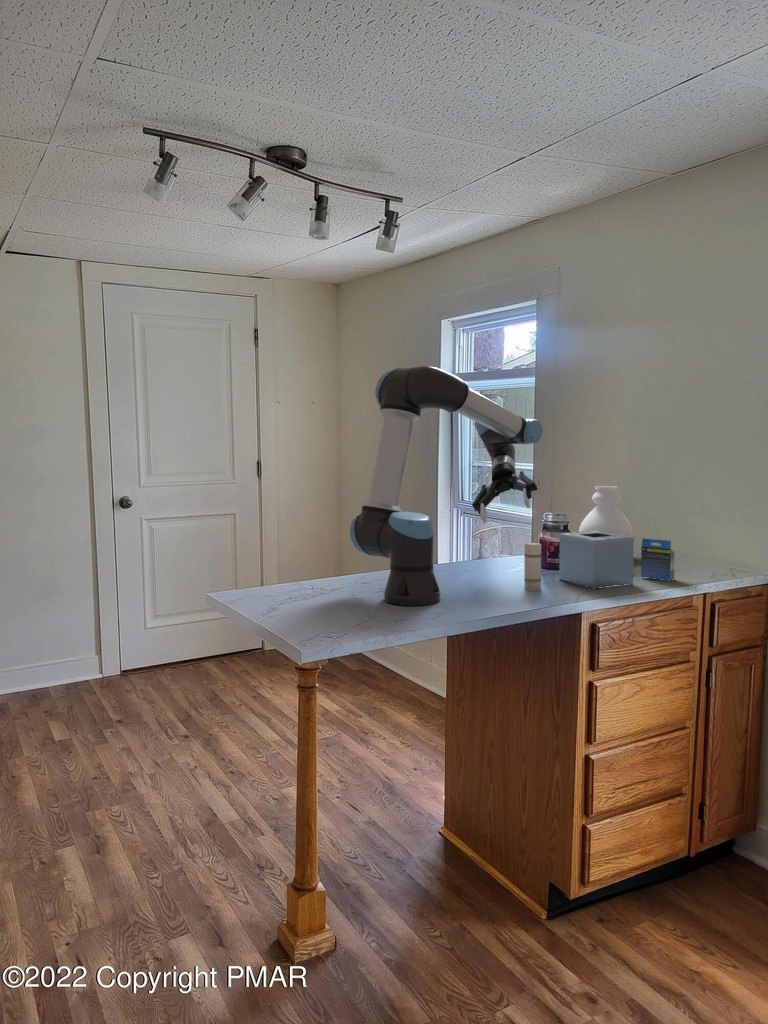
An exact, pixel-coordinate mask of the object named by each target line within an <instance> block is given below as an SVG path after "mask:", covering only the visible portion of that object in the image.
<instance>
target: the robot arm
mask: <svg viewBox="0 0 768 1024" xmlns="http://www.w3.org/2000/svg"><path fill="white" fill-rule="evenodd" d="M374 395H375V399H376V400H377V401H376V402H377V404H378V405H379V407H380V408H379V413H380V415H381V416H382V417H383V421H382V427H381V431H380V437H379V443H378V449H377V454H376V457H375V465H374V470H373V475H372V480H371V481H372V482H371V487H370V492H369V498H368V501H366V502H365V503H363V504H362V506H361V512H360V513H358V514H357V515H356V516H355V517H354V518H352V521H351V524H350V527H349V535H350V536H349V537H350V541H351V543H352V544H353V546H354V548H355V549H356V550H357V551H359V552H360V553H363V554H366V555H367V556H372V557H381V558H386V559H389V566H390V567H389V570H390V571H389V575H388V579H387V582H386V584H385V588H384V592H383V597H384V598H383V599H385V600H386V601H387V602H390V603H393V604H392V605H395V604H399V605H398V606H404V605H409V606H408V607H411V606H416V607H417V606H426V605H433V604H436V603H439V602H440V600H441V591H440V587H439V584H438V581H437V578H436V576H435V572H434V529H433V520H432V519H431V518H430V517H429V516H428V515H426V514H424V513H420V512H413V511H412V512H411V511H403V510H402V508H401V507H400V505H399V504H400V499H401V495H402V490H403V483H404V477H405V472H406V465H407V460H408V454H409V450H410V445H411V438H412V433H413V427H414V424H415V423H416V422H417V421H419V420H420V418H421V412H422V409H439V410H444V411H446V412H447V413H453V414H454V413H457V414H460V415H461V416H463V417H466V418H468V419H470V420H472V421H474V427H475V429H476V432H477V435H478V436H479V438H480V439H481V441H482V443H483V445H484V447H485V449H486V451H487V453H488V455H489V458H490V459H491V483H490V485H487V484H482V486H481V490H480V491H479V492H478V494H477V496H476V497H475V499H474V500H473V502H472V504H471V506H472V507H473V510H474V511H475V512H478V515H479V516H480V518H481V520H482V522H483V523H484V524H486V523H487V506H488V505H489V504H490V503H491V502H492V501H493V500H494V499H495V498H498V497H499V495H501V494H502V493H505V492H508V491H510V490H514V491H521V493H522V494H523V495H522V496H523V502H524V505H525V507H526V508H527V509H530V508H531V507H530V499H532V498H533V494H532V493H533V492H534V491H538V490H539V489H538V486H537V485H536V481H533V480H532V479H531V478H530V477H528V476H527V475H526V474H525V472H524V471H523V470H521V471H519V474H517V472H516V450H515V446H514V445H529V444H531V445H532V444H537V443H539V441H541V440H542V437H543V425H542V423H541V422H540V420H538V419H534V418H524V417H522V416H520V415H519V414H516V413H514V412H513V411H511V410H510V409H507V408H506V407H504V406H502V405H500V404H498V403H496V402H495V401H494V400H491V398H490V399H489V398H488V397H486V396H485V395H482V394H480V393H479V392H477V391H475V390H473V389H471V388H470V387H469V385H468V383H467V381H465V380H463V379H462V378H459V377H458V376H456V375H454V374H452V373H449V372H448V371H445V370H443V369H441V368H438V367H434V366H431V365H430V366H428V365H421V366H411V367H404V368H403V367H399V368H397V367H396V368H394V369H391V370H388V371H386V372H384V373H383V374H381V376H380V377H379V379H378V380H377V383H376V386H375V393H374ZM385 600H384V601H385ZM386 601H385V602H386ZM387 602H386V603H387ZM390 603H389V604H390Z"/></svg>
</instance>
